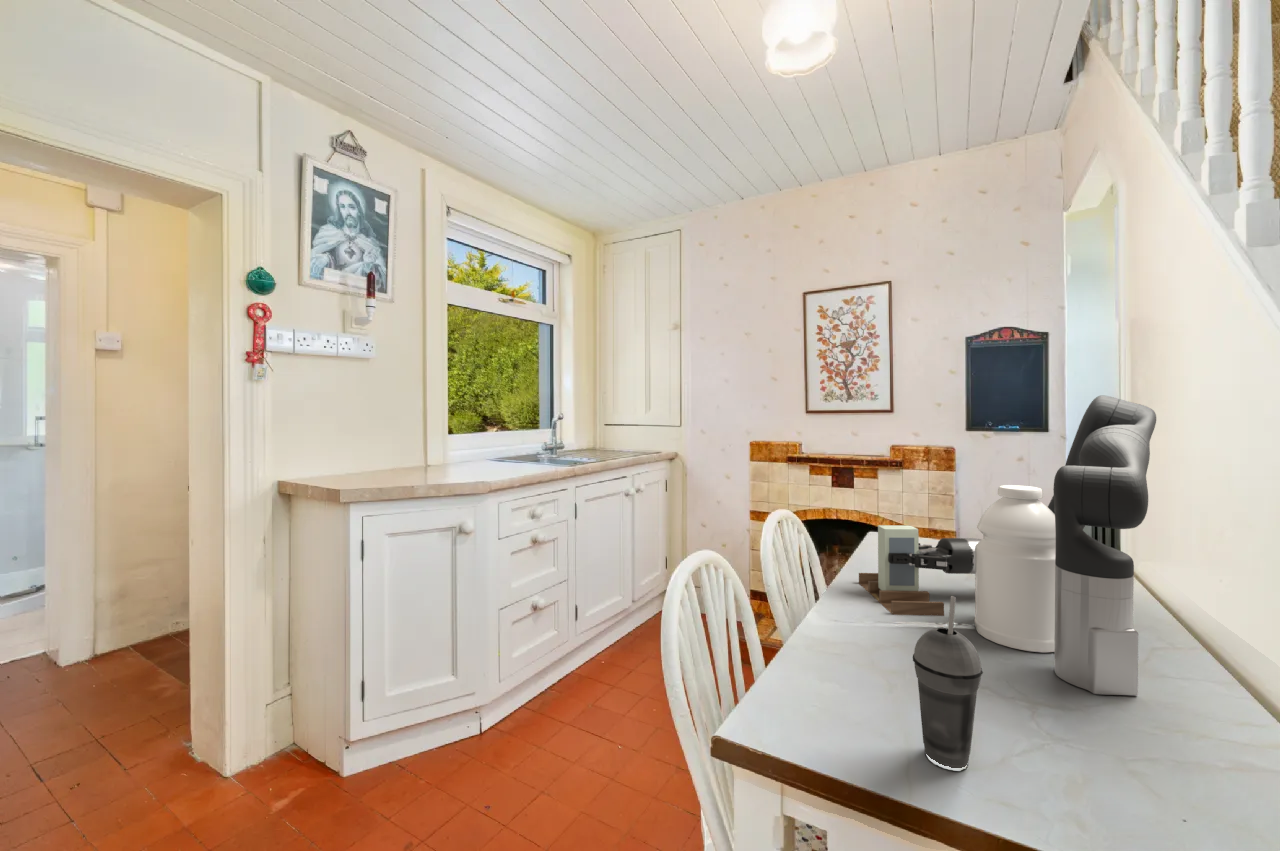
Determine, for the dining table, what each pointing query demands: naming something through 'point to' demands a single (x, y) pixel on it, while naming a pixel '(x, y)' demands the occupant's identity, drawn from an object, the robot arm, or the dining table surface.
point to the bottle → (1016, 571)
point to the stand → (901, 598)
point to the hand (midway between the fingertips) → (885, 555)
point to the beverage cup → (947, 692)
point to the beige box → (897, 542)
